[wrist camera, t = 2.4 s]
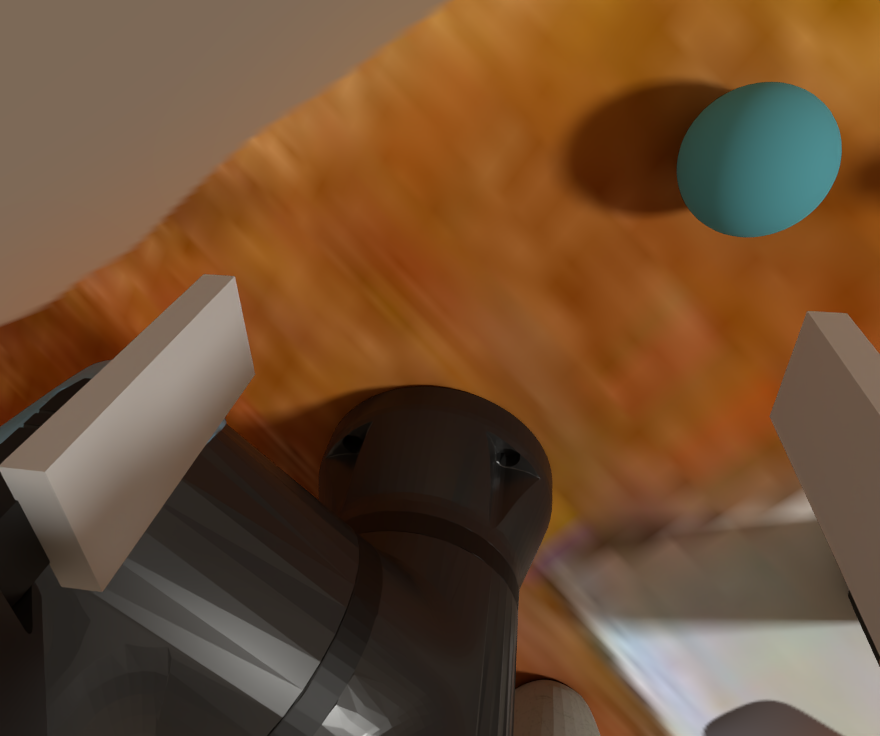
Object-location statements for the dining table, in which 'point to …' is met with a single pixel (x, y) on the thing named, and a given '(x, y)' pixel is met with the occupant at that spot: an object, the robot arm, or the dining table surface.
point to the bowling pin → (551, 711)
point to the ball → (759, 159)
